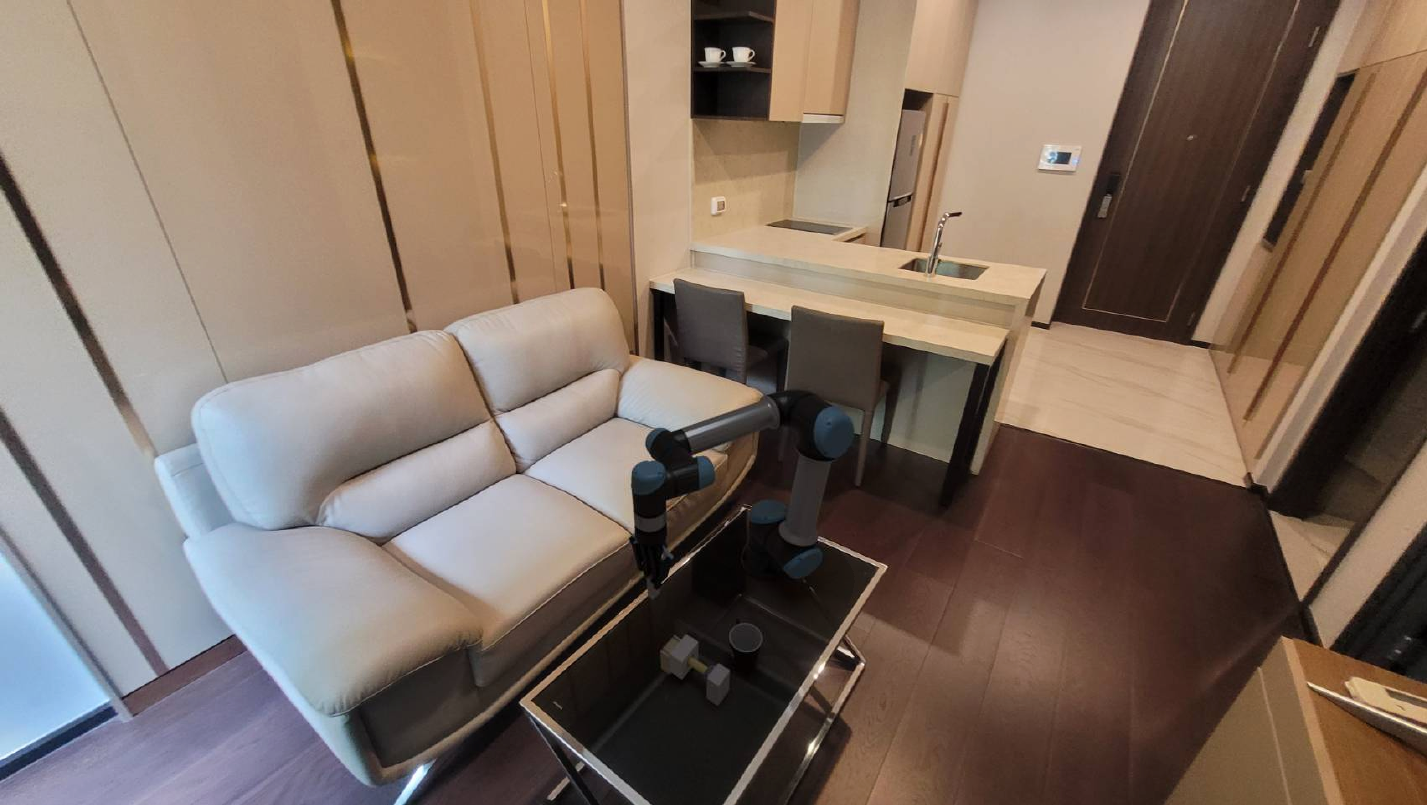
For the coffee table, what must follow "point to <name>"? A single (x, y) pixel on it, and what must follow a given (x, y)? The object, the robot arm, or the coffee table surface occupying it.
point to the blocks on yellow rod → (713, 675)
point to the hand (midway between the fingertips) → (653, 594)
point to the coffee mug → (744, 646)
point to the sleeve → (683, 656)
